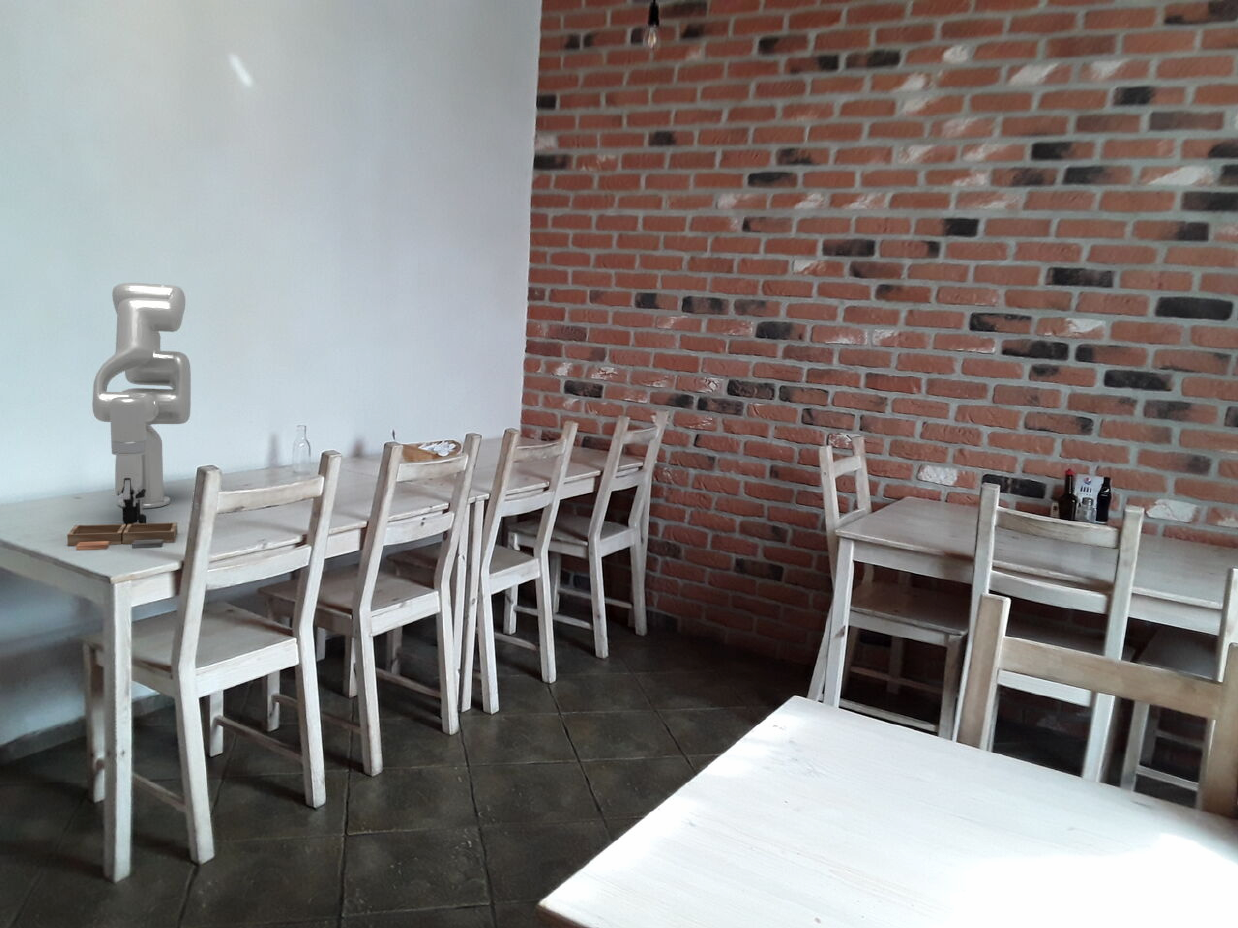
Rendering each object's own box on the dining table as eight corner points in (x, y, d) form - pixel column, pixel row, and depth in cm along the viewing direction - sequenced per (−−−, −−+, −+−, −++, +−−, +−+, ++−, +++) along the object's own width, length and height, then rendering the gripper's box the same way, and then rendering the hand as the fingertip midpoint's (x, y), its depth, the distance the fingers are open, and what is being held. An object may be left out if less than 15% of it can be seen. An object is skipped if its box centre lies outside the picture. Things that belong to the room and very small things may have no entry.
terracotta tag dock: (75, 535, 206) (74, 525, 205) (126, 534, 210) (126, 523, 209) (64, 550, 195) (63, 539, 194) (118, 548, 199) (118, 537, 198)
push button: (120, 530, 213) (118, 490, 211) (113, 525, 216) (112, 486, 215) (149, 526, 217) (148, 487, 216) (143, 522, 221) (141, 483, 219)
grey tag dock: (128, 534, 210) (127, 523, 210) (177, 532, 214) (177, 522, 213) (120, 548, 199) (120, 537, 198) (172, 546, 203) (172, 535, 202)
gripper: (117, 441, 220) (119, 512, 223) (105, 453, 204) (108, 529, 208) (150, 441, 222) (152, 511, 226) (142, 453, 207) (144, 528, 210)
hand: (131, 519), depth 217 cm, fingers closed on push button, 3 cm apart
